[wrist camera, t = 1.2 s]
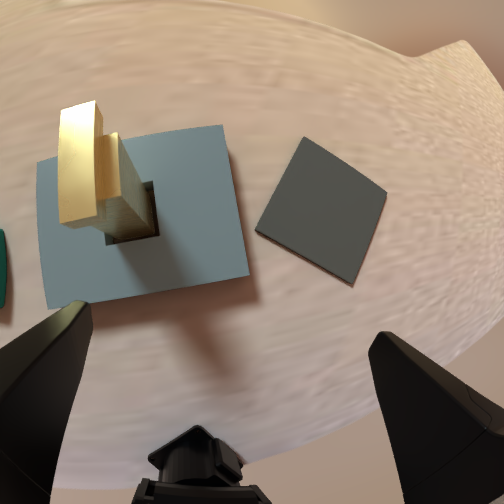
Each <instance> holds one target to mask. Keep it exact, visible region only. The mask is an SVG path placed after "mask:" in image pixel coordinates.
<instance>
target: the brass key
mask: <svg viewBox="0 0 504 504" xmlns="http://www.w3.org/2000/svg"><path fill="white" fill-rule="evenodd" d="M58 208H59V221H60V224H62V225H64V226H67V227H69V228H72V229H78V228H82V227H87V226H92V227H94V228H96V229H98V230H100V231H102V232H104V233H106V234H108V235H110V236H112V237H114V238H116V239H118V240H124V239H129V238H135V237H140V236H145V235H151V234H155V229H154V222H153V215H152V207H151V199H150V196H149V194H148V192H147V190H146V189H145V187H144V185H143V183H142V181H141V179H140V177H139V175H138V173H137V171H136V169H135V167H134V165H133V163H132V161H131V159H130V157H129V155H128V153H127V151H126V149H125V147H124V145H123V143H122V141H121V139H120V137H119V135H118V132H117V133H113V134H108V135H104V136H103V116H102V114H101V112H100V110H99V108H98V106H97V104H96V102H95V101H92V102H89V103H85V104H81V105H78V106H74V107H71V108H68V109H64V110H61V120H60V132H59V148H58Z"/></svg>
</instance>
